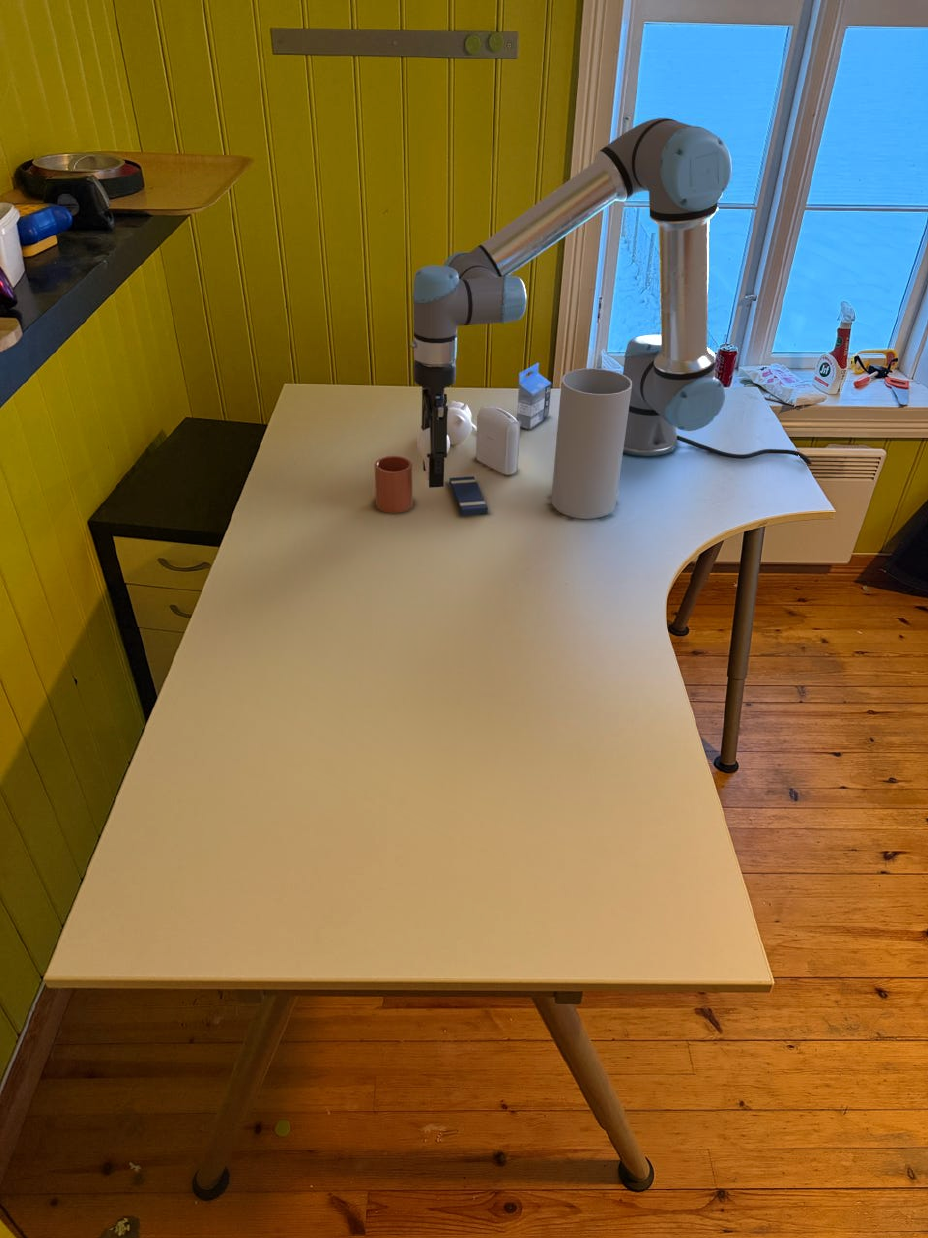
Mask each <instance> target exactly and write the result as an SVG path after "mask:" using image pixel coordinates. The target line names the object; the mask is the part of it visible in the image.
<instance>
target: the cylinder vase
mask: <svg viewBox="0 0 928 1238" xmlns="http://www.w3.org/2000/svg"><path fill="white" fill-rule="evenodd" d="M631 390H632V381H631V380H630V379H629V378H628V377H627V376H625V375H623V373H622V372H621V373H620V372H617V371H614V370H610V369H604V368H596V367H595V368H593V367H591V368H590V367H587V368H578V369H573V370H570V371H568V372H566V373H564V374H563V375H562V377H561V383H560V396H559V407H558V417H557V428H556V438H555V439H556V440H555V448H554V449H555V450H554V459H553V460H554V463H553V471H552V472H553V475H552V485H551V493H550V501H551V504H552V506H553V508H554V509H556V511H558V512H559V513H561V514H562V515H565V516H568V517H571V518H574V519H579V520H581V519H582V520H593V519H600V518H603V517H605V516H608V515H610V513H612V512H613V511H614V509H615V507H616V504H617V499H618V490H619V484H620V477H621V469H622V468H621V467H622V460H623V454H624V453H623V448H624V440H625V433H626V426H627V419H628V411H629V404H630V397H631Z"/></svg>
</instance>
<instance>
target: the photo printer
mask: <svg viewBox="0 0 928 1238" xmlns="http://www.w3.org/2000/svg"><path fill="white" fill-rule="evenodd" d="M476 427H477V432H476V441H475V447H476V448H475V458H476V460H477V461H478V462H480V463H482V464H483V465H485V466H487V467H489V468H491V469H492V470H494V471H496V472H498V473H500V474H501V475H506V476H509V475H513V474H515V473H516V472H517V470H518V468H519V453H520V437H521V436H520V433H521V427H520V425H519V422H518V421H517V418H515V417H514V416H513V415H512V414H511V413H509V412H508V411H506V410H504V409H503V408H500V407H497V406H492V405H486V406H483V407H481V408H480V409H479V410H478V412H477V416H476Z"/></svg>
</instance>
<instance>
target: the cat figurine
mask: <svg viewBox="0 0 928 1238" xmlns="http://www.w3.org/2000/svg"><path fill="white" fill-rule="evenodd" d="M448 402H449V403H448V404H446V406H447V407H448V414H447V435H448V437H449V440H450V445H460V444H461V443H463V442H465V441H467V440H468V438H469V437H470V435H471V433H472V431H474V432H475V433H477V425H475V424H474V423H473V422H472V412H471V410H470V408H469V407H468V403H466V402H465V403H463V402H460V401H455V400H453V399H449V400H448Z"/></svg>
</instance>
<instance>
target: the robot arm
mask: <svg viewBox="0 0 928 1238" xmlns="http://www.w3.org/2000/svg"><path fill="white" fill-rule="evenodd" d="M732 166H733V165H732V157H731V154H730V151H729V149H728V146H727V145H726V143H725V142H724V141H723V140H722V138H720V137H719V136H718V135H717V134H715V133H713V132H712V131H710V130H708V129H707V128H705V127H702V126H697V125H691V124H687V123H684V122H680V121H678V120H675V119H673V118H669V117H658V118H652V119H649V120H646V121H643V122H642V123H640V124H637V125H636V126H634V127H633V128H631V129H629V130H627V131H626V132H624V133H623V134H621V135H620V136H618V137H617V138H615V139H614V140H612V141H611V142H609V143H608V144H607V145H605V146H604V147H603V148H601V149H600V150H599V151H597V152H596V153H595V156H594V160H593V162H592V163H591V164H589V165H588V166H587V167H585V168H584V169H583V170H581V171H580V172H578V173H577V174H575V175H574V176H573V177H572V178H570V179H569V180H568V181H566V182H564V184H562V185H560V186H559V187H557V188H556V189H555V190H553V191H552V192H551V193H550V194H548V195H547V196H545V197H544V198H543V199H541V200H539V201H538V202H537V203H535V204H534V205H533V206H532V207H530V208H529V209H527V210H526V211H525V212H523V213H522V214H521V215H519V216H518V217H516V218H515V219H514V220H512V221H511V222H510V223H508V224H506V225H505V226H504V227H502V228H501V229H500V230H498V231H496V232H495V233H494V234H493V235H491V236H490V237H488V238H487V239H486V240H485V241H483V242H482V243H481V244H479V245H477V246H476V247H475V248H473V249H472V250H471V251H469V252H465V251H458V252H454V253H453V254H451V255H450V256H449V257H448V258H447V259H445V261H444V263H443V265H427V266H423V267H421V268H419V269H418V270H416V271H415V273H414V279H413V294H412V303H413V304H412V305H413V306H412V307H413V340H414V341H411V342H410V343H409V345H410V348H412V349H413V359H414V361H413V381H414V382H415V384H416V385H418V386H420V387H421V425H420V428H421V430H422V432H423V431H424V430H425V429H427V428H430V446H431V453H430V454H427V458H429V481H428V487H429V489H433V488H434V489H435V488H444V487H445V459H446V458H447V457H448V453H447V414H448V407H447V406H446V405H447V403H448V395H447V393H445V389H446V388H448V387H452V385H454V384H455V382H456V377H457V363H456V360H457V354H458V351H457V350H458V327H459V326H474V325H489V324H490V325H491V324H503V325H504V324H506V323H512V322H518V321H520V320H521V319H522V318H523V317H524V314H525V312H526V308H527V292H526V287H525V283H524V282H523V280H522V279H521V278H520V277H518V276H515V275H513V274H514V273H515V272H517V271H518V270H520V269H521V268H522V267H524V266H525V265H526V264H528V263H529V262H531V261H532V260H533V259H535V258H537V257H538V256H539V255H541V254H542V253H544V252H545V251H546V250H548V249H549V248H551V247H552V246H553V245H555V244H556V243H557V242H559V241H560V240H562V239H563V238H564V237H566V236H567V235H568V234H570V233H571V232H573V231H575V230H576V229H577V228H579V227H580V226H582V225H583V224H584V223H586V222H587V221H588V220H590V219H591V218H593V217H594V216H595V215H597V214H598V213H600V212H601V211H602V210H604V209H606V208H607V207H608V206H609V205H611V204H612V203H614V202H615V201H617V202H621V203H623V202H625V201H627V200H628V199H630V198H631V197H632V196H634V195H636V194H638V193H642V192H648V204H649V206H648V207H649V218H650V219H651V220H652V221H653V222H654V223H655V224H656V225H657V226H658V253H659V254H658V256H659V258H658V259H659V302H660V303H659V304H660V305H659V307H660V334H646V335H640V336H636V337H634V338H632V339H630V340H629V341H628V343H627V346H626V350H625V353H624V363H623V371H622V374H623V375H625V376H627V377H628V378H629V379H630V380H631V381H632V390H631V397H630V404H629V411H628V419H627V426H626V433H625V440H624V448H623V454H626V455H630V456H635V457H645V458H646V457H660V456H664V455H667V454H669V453H671V452H673V451H674V450H675V449H676V446H677V441H679V442H682V443H685V444H687V445H690V446H692V447H695V448H698V449H700V450H704V451H707V452H709V453H712V454H714V455H717V456H721V457H725V458H729V459H735V460H737V459H738V460H744V459H745V460H746V459H752V458H754V457H758V456H760V455H761V456H762V455H766V454H775V455H776V454H777V455H792V456H796V457H798V455H799V456H800V457H799V459H801V460H803V462H804V463H805V464H806V465H812V464H813V463H812V461H811V459H810V458H809V457H808V456H806V454H804V453H802V452H800V451H798V450H794V449H783V448H779V449H778V448H763V449H759V450H755V451H753V452H750V453H743V454H742V453H741V454H739V453H738V454H737V453H731V452H726V451H723V450H720V449H716V448H714V447H711V446H708V445H705V444H702V443H699V442H697V441H694V440H692V439H689V438H686V437H683V436H681V435H678V433H677V429H678V430H680V431H683V432H693V431H697V430H701V429H703V428H704V427H706V426H708V425H709V424H710V423H712V422H713V421H714V419H715V417H717V416H718V415H719V414H720V413H721V411H722V409H723V407H724V404H725V401H726V389H725V386H724V385H723V383H722V381H721V380H720V379H718V378H716V355H715V352H713V351H712V350H711V349H710V348H708V322H709V321H708V316H709V311H708V310H709V245H710V244H709V241H710V240H709V239H710V236H709V232H710V219H712V218H713V216H715V214H717V212H718V211H719V201H720V200H721V199H722V197H723V195H724V194H723V193H724V191H725V190H728V186H729V184H730V180H731V176H732V169H733V168H732ZM511 275H512V276H511ZM422 470H423V472H426V470H425V463H424V460H423V459H422Z"/></svg>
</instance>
